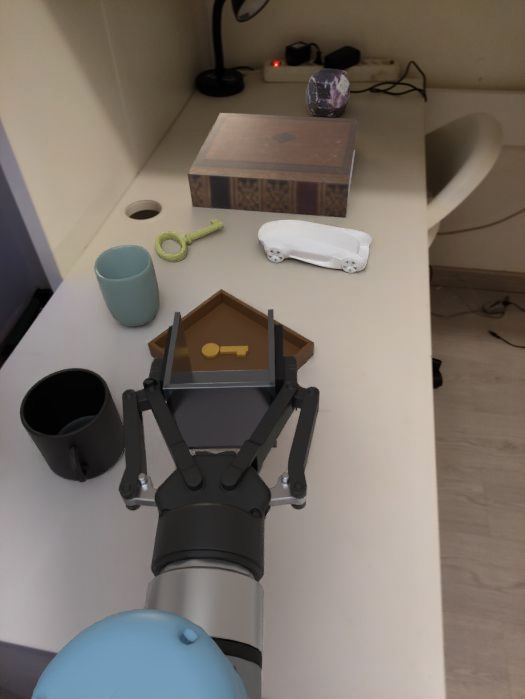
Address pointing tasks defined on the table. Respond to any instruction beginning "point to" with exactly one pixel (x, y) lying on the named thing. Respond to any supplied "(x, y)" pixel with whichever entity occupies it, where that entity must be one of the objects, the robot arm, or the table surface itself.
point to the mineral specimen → (328, 92)
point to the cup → (128, 284)
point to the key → (184, 240)
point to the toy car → (316, 244)
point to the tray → (232, 336)
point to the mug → (74, 423)
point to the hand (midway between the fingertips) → (226, 335)
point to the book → (275, 164)
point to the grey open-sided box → (216, 396)
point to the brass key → (223, 350)
